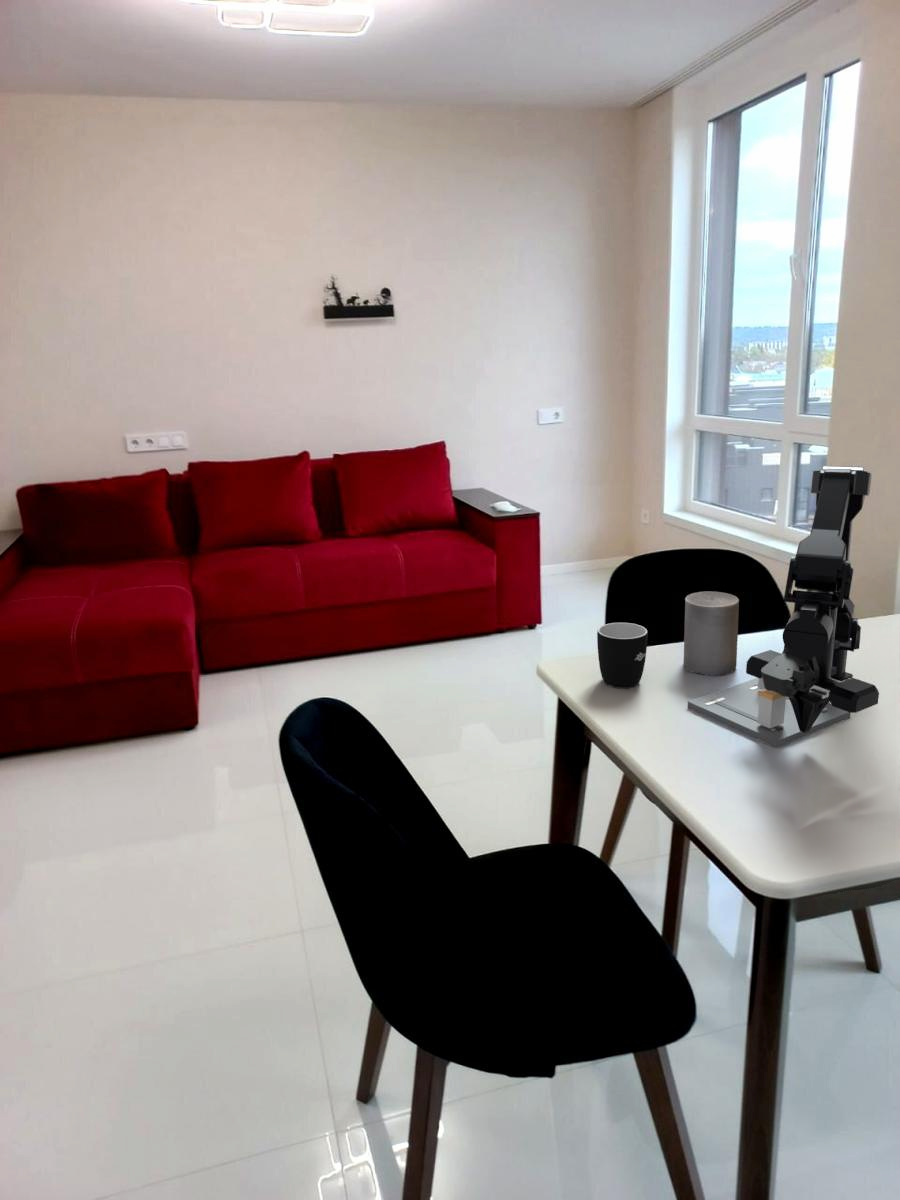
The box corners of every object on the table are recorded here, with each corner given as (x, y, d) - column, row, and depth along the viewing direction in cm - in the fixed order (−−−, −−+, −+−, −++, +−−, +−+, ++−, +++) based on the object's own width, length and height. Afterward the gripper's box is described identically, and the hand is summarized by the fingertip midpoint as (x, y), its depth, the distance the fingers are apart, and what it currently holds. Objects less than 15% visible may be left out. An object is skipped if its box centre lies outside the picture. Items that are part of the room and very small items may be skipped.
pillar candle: (721, 655, 162) (724, 582, 157) (745, 673, 152) (749, 596, 148) (674, 660, 160) (676, 587, 156) (695, 678, 151) (698, 601, 147)
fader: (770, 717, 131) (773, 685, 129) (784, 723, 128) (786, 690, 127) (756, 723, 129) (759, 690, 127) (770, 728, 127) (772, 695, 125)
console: (759, 683, 148) (759, 676, 147) (850, 718, 133) (851, 710, 132) (687, 707, 139) (688, 700, 139) (776, 748, 124) (776, 740, 124)
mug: (638, 694, 145) (640, 641, 142) (590, 687, 149) (590, 635, 147) (655, 670, 155) (657, 620, 152) (610, 664, 160) (610, 615, 157)
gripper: (724, 629, 123) (718, 723, 127) (835, 666, 107) (825, 771, 112) (773, 614, 128) (766, 705, 133) (886, 648, 113) (874, 749, 117)
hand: (804, 731), depth 123 cm, fingers closed
